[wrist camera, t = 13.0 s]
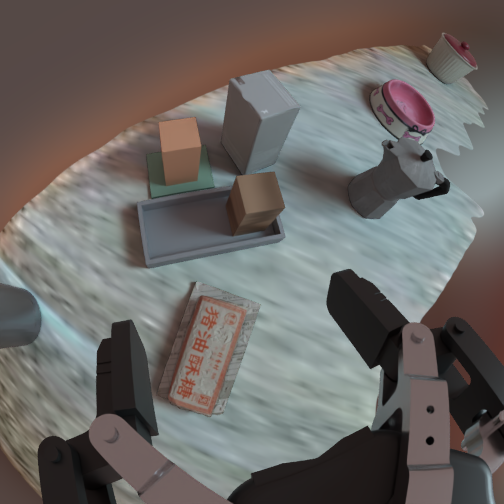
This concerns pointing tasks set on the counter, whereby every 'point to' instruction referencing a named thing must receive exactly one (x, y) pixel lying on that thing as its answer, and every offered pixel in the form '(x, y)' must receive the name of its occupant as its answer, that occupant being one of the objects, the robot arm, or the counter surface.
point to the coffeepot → (396, 179)
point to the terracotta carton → (180, 150)
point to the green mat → (162, 190)
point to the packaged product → (208, 350)
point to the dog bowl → (402, 110)
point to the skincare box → (257, 120)
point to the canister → (450, 59)
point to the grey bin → (195, 228)
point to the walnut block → (254, 203)
